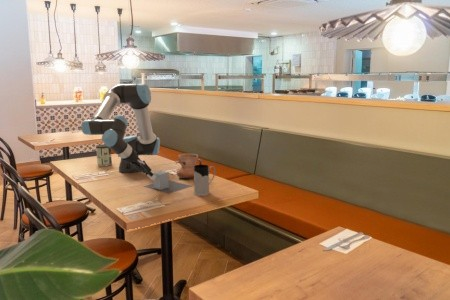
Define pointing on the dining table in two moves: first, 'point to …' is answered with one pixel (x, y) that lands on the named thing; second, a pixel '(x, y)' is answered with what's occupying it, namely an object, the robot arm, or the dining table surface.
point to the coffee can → (103, 155)
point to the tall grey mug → (202, 180)
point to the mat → (171, 187)
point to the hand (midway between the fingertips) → (154, 178)
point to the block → (161, 180)
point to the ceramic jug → (187, 165)
